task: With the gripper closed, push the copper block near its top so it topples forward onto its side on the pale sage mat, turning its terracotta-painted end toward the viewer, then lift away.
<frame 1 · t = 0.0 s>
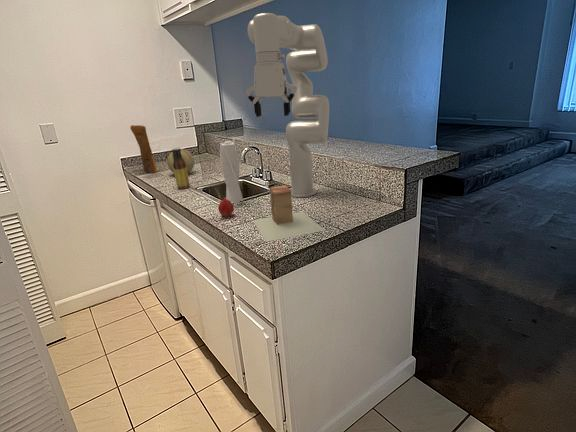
hand: (272, 115, 117), 37 cm above the countertop, tool pointing down, fingers open, 9 cm apart
brown bar: (149, 171, 221), on the countertop
onion: (227, 217, 138), on the countertop
skyscraper: (235, 203, 154), on the countertop
cantaloupe: (182, 174, 208), on the countertop
copper block: (282, 220, 130), resting on mat
sauce bottle: (183, 188, 181), on the countertop
mat: (286, 226, 126), on the countertop
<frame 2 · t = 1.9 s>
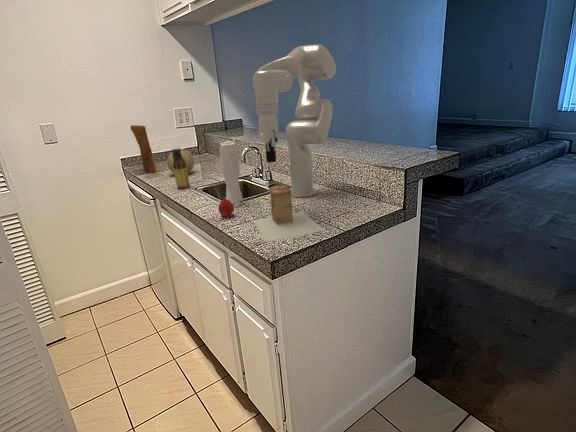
hand: (271, 161, 130), 21 cm above the countertop, tool pointing down, fingers closed
nothing on the countertop moved.
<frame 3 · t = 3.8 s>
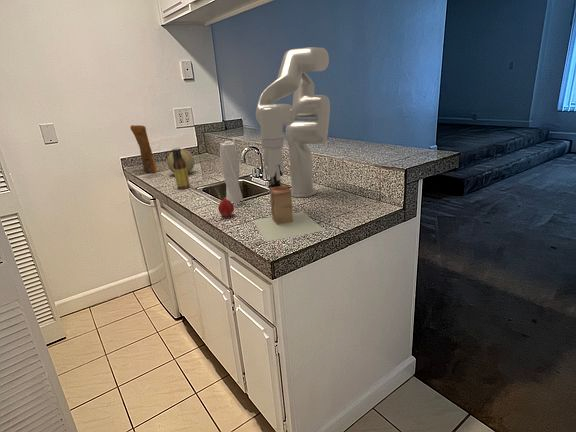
hand: (276, 193, 131), 9 cm above the countertop, tool pointing down, fingers closed
copper block: (282, 220, 130), point 1 cm above the countertop, touching gripper, mat
everything else where it was.
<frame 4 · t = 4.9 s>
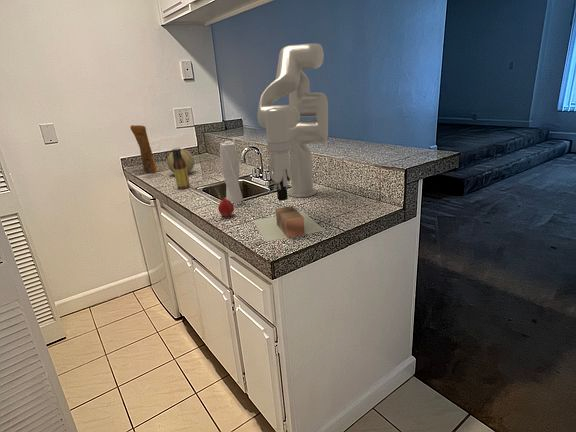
hand: (282, 199, 124), 9 cm above the countertop, tool pointing down, fingers closed
copper block: (284, 215, 126), point 3 cm above the countertop, tilted 90°, touching mat
everything else where it was.
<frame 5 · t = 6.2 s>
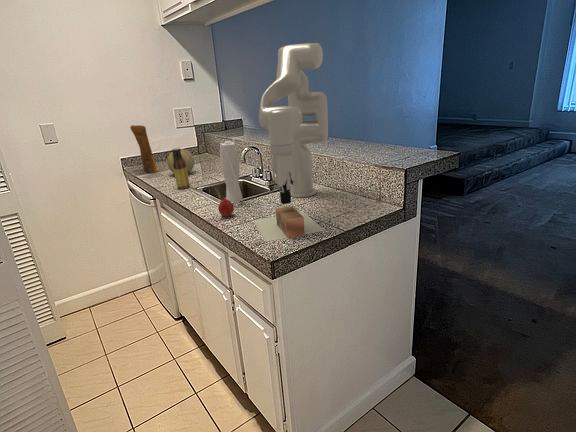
hand: (285, 202, 122), 9 cm above the countertop, tool pointing down, fingers closed
nothing on the countertop moved.
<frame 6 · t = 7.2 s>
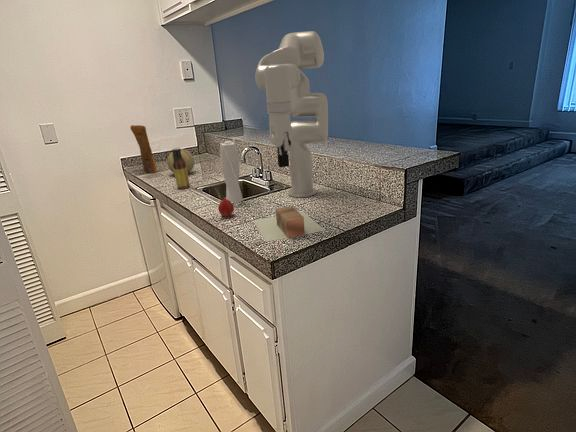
hand: (283, 166, 117), 22 cm above the countertop, tool pointing down, fingers closed
nothing on the countertop moved.
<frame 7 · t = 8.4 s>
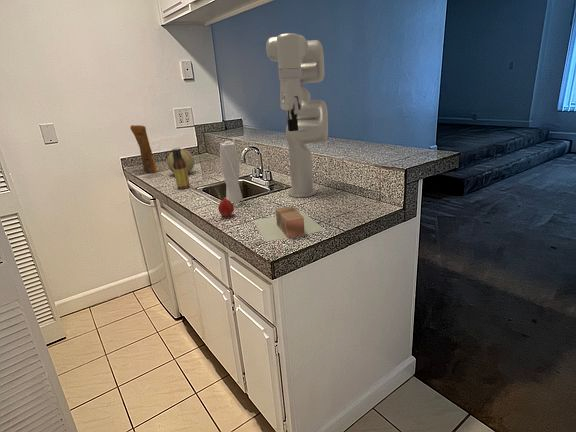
hand: (293, 130, 126), 31 cm above the countertop, tool pointing down, fingers closed
nothing on the countertop moved.
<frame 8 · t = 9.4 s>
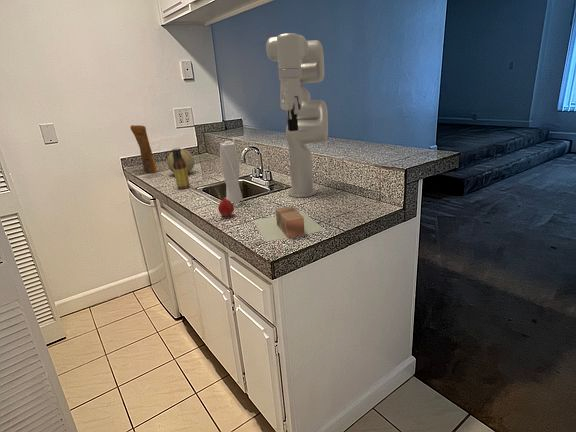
hand: (293, 130, 126), 31 cm above the countertop, tool pointing down, fingers closed
nothing on the countertop moved.
at the end: copper block tilted 90°; copper block inside the target area (4.2 cm from its centre), point 3.5 cm above the countertop; copper block touching mat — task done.
